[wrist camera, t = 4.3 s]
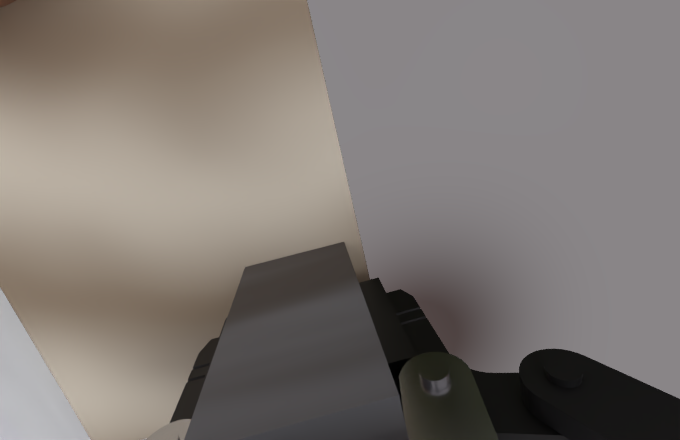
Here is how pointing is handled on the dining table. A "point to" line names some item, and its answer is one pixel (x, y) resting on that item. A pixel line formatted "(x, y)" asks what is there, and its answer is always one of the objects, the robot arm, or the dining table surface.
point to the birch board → (185, 220)
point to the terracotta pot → (5, 2)
